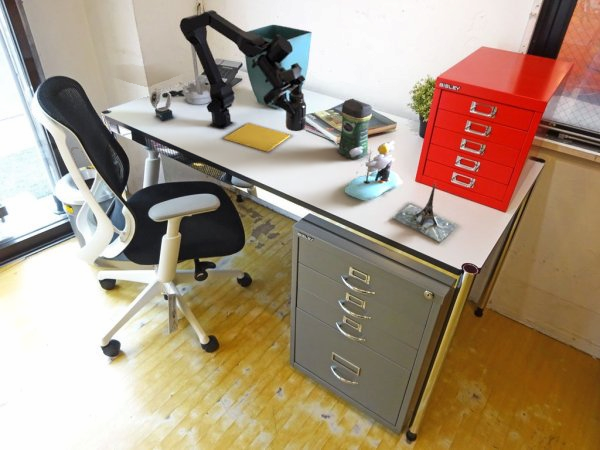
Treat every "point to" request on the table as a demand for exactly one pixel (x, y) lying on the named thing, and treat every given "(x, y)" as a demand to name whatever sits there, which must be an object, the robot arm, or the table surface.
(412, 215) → the eiffel tower figurine
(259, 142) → the cloth
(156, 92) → the watch
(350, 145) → the coffee jar
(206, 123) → the table surface
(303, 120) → the supplement bottle
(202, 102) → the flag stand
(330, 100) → the table surface
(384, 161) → the cartoon character figurine
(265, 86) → the flower pot
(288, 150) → the table surface
